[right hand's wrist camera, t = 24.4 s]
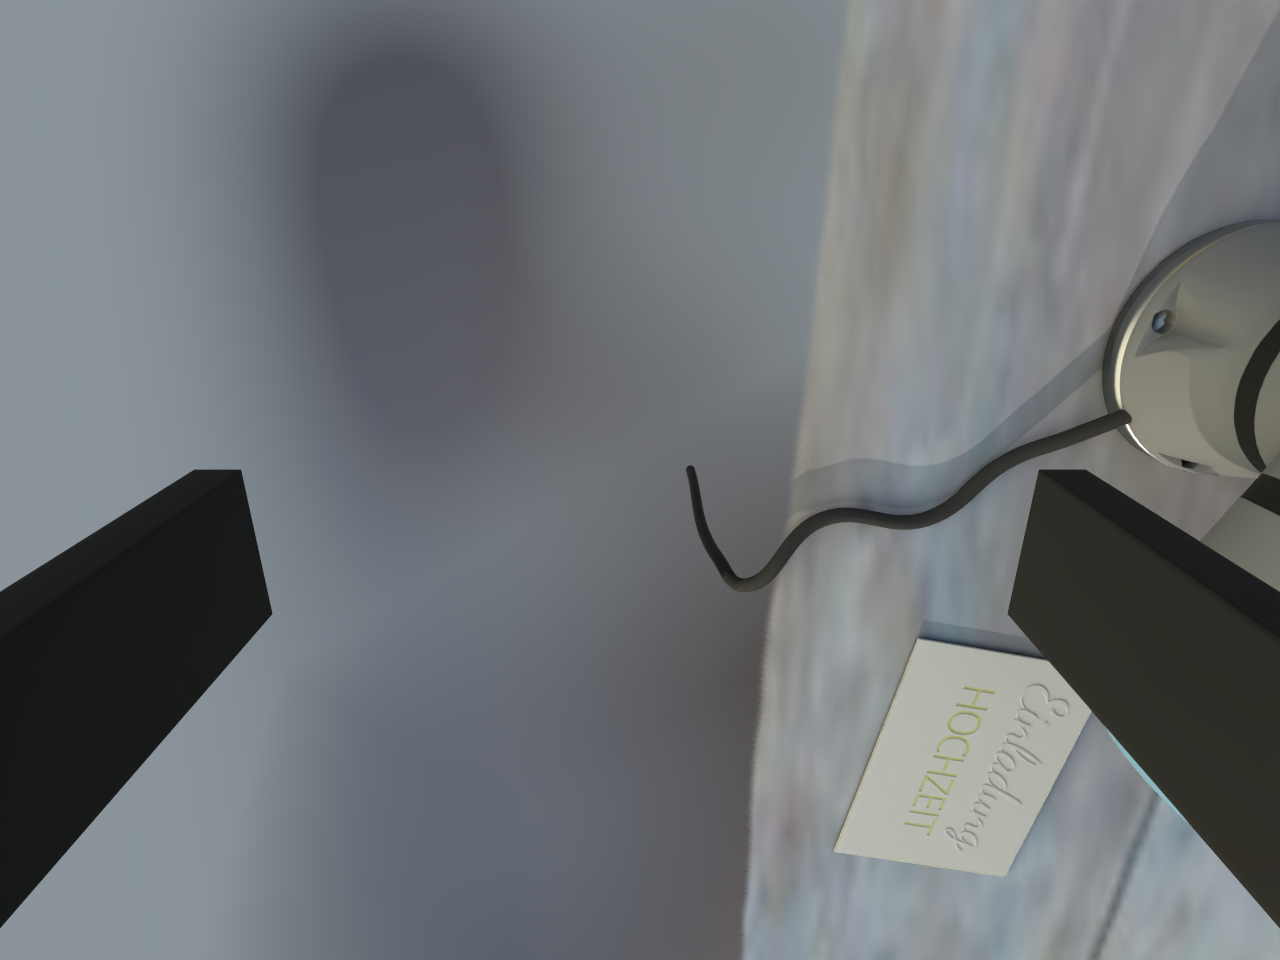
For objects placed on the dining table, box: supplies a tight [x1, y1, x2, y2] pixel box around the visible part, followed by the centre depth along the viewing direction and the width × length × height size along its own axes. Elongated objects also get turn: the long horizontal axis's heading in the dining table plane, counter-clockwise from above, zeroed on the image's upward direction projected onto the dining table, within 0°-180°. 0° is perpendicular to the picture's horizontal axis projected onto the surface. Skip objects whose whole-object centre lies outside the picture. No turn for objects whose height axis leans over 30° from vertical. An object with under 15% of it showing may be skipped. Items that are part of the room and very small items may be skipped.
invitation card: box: [834, 638, 1092, 877], centre depth 57 cm, size 21×1×15 cm
